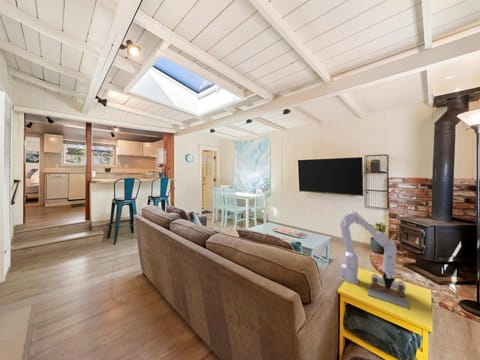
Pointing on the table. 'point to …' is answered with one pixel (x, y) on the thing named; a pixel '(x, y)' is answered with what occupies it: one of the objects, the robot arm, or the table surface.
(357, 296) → the table surface
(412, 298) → the table surface
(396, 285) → the rail
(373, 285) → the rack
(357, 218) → the robot arm
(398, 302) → the mat
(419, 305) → the table surface
